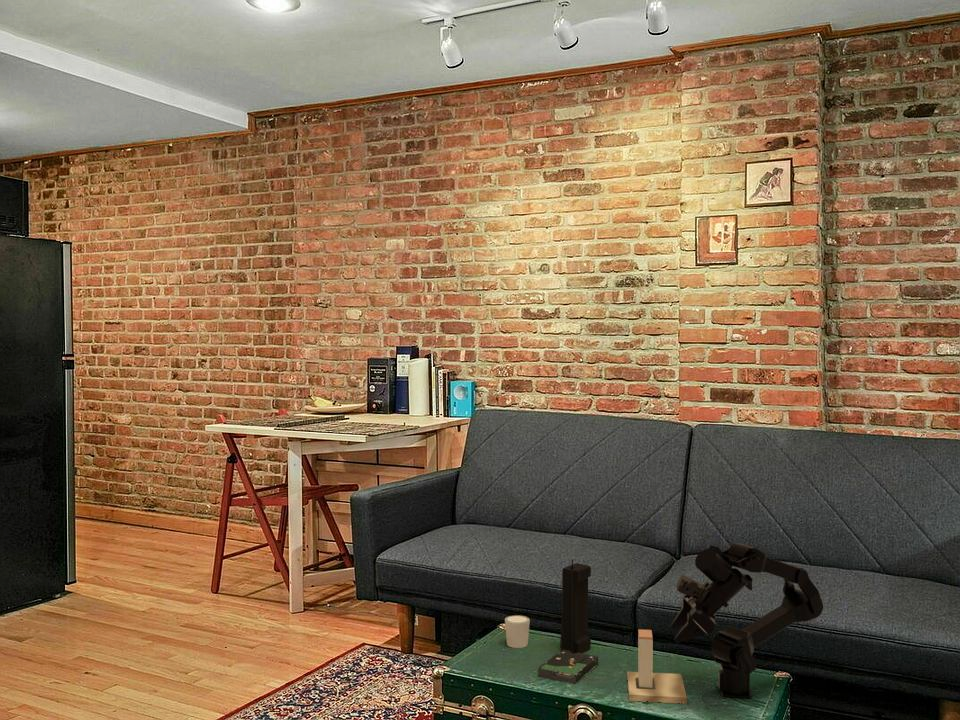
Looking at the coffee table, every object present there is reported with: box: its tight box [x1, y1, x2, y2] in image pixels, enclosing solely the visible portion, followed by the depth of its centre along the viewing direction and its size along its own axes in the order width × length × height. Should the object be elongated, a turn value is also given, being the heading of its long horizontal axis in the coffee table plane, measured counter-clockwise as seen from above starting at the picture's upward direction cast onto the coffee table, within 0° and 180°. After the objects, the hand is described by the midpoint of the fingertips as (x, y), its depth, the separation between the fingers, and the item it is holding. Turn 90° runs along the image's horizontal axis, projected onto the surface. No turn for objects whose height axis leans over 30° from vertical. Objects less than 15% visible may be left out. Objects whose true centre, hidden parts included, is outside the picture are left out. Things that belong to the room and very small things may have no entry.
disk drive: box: [537, 649, 599, 685], centre depth 224 cm, size 10×3×15 cm
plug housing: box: [637, 629, 654, 688], centre depth 211 cm, size 3×5×12 cm, turn 172°
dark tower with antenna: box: [559, 559, 592, 654], centre depth 238 cm, size 8×6×25 cm
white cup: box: [504, 615, 531, 649], centre depth 242 cm, size 7×7×7 cm
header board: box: [626, 671, 688, 705], centre depth 211 cm, size 13×14×4 cm
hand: (673, 634), depth 210 cm, fingers open, 9 cm apart
